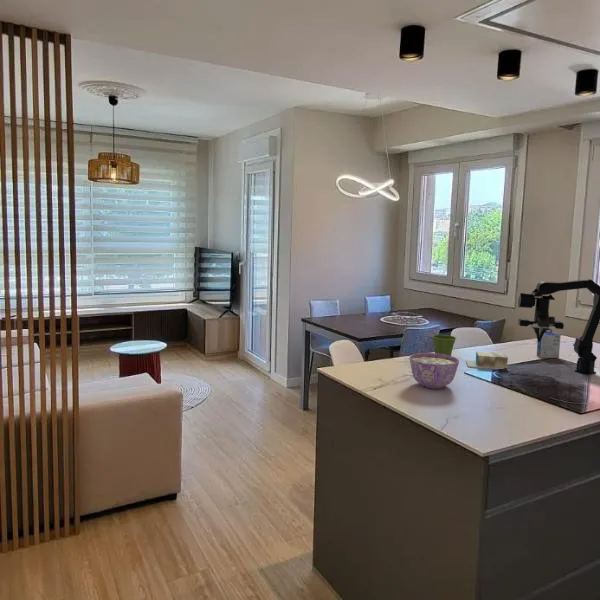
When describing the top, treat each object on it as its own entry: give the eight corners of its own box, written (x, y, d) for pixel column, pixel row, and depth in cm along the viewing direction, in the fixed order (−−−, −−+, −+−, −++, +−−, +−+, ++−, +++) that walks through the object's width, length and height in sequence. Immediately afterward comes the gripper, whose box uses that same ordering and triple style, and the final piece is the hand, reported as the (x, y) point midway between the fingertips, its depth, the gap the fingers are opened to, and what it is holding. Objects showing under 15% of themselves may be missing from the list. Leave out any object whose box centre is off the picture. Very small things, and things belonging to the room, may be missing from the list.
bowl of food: (422, 394, 203) (424, 365, 202) (399, 380, 222) (400, 353, 221) (467, 391, 209) (469, 363, 207) (441, 377, 228) (442, 351, 226)
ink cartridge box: (554, 355, 272) (556, 328, 270) (559, 358, 267) (562, 330, 265) (535, 355, 273) (537, 328, 271) (540, 357, 267) (542, 330, 265)
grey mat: (500, 363, 254) (500, 362, 254) (504, 369, 242) (504, 368, 242) (465, 361, 257) (465, 360, 257) (468, 367, 246) (468, 366, 246)
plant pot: (456, 362, 255) (457, 339, 253) (431, 360, 257) (432, 338, 256) (454, 356, 266) (455, 335, 265) (430, 355, 269) (431, 333, 267)
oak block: (504, 353, 252) (476, 351, 254) (507, 357, 243) (478, 355, 245) (503, 363, 252) (475, 361, 255) (507, 367, 243) (477, 366, 246)
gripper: (523, 309, 235) (520, 343, 237) (568, 312, 231) (564, 347, 233) (519, 306, 246) (516, 338, 248) (562, 309, 242) (558, 342, 244)
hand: (538, 341), depth 243 cm, fingers closed
